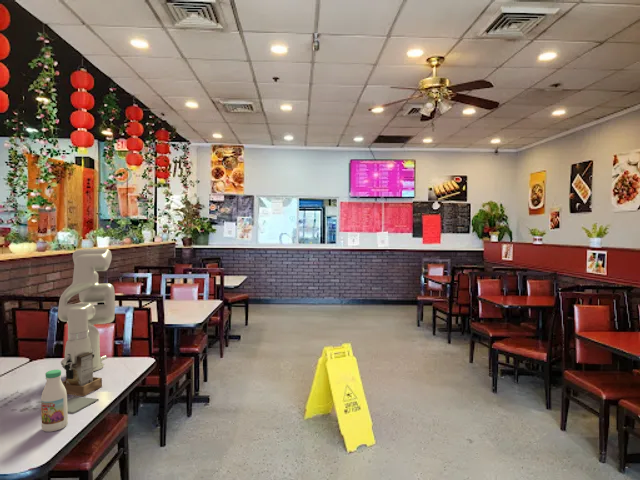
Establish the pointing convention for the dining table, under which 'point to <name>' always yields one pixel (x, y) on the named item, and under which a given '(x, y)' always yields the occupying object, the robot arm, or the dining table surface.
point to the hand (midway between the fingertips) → (79, 374)
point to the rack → (83, 387)
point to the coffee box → (82, 370)
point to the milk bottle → (54, 403)
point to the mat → (78, 403)
